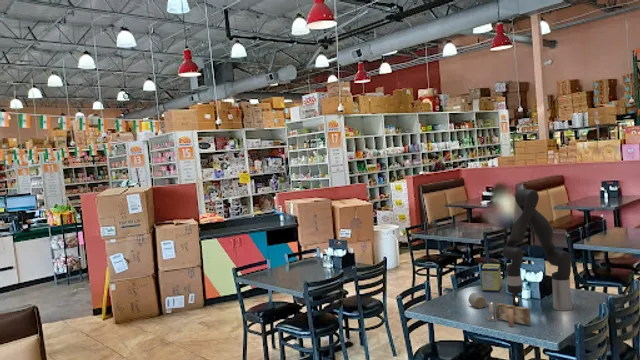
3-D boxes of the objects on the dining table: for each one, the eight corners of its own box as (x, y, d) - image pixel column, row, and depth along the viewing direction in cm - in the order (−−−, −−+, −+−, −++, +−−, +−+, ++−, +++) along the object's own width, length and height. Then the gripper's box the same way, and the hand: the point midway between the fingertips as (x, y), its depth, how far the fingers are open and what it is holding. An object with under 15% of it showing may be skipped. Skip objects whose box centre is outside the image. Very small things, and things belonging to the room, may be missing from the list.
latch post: (513, 325, 277) (512, 308, 277) (514, 327, 275) (513, 310, 274) (508, 325, 278) (507, 308, 277) (509, 327, 275) (508, 310, 275)
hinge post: (496, 318, 291) (495, 301, 290) (497, 321, 286) (496, 303, 285) (487, 318, 292) (486, 301, 291) (488, 321, 287) (487, 304, 286)
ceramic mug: (475, 309, 308) (475, 296, 308) (468, 306, 316) (467, 293, 316) (491, 307, 311) (491, 294, 311) (484, 303, 319) (483, 291, 318)
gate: (495, 318, 288) (494, 303, 288) (497, 316, 290) (496, 302, 289) (528, 324, 274) (527, 309, 273) (530, 323, 275) (529, 308, 275)
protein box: (501, 286, 353) (500, 263, 352) (499, 292, 339) (498, 268, 338) (485, 285, 357) (484, 263, 356) (482, 292, 343) (481, 268, 342)
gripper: (523, 286, 277) (525, 318, 278) (520, 280, 290) (521, 310, 291) (508, 286, 279) (510, 318, 280) (505, 280, 292) (507, 310, 293)
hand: (516, 314), depth 286 cm, fingers closed
